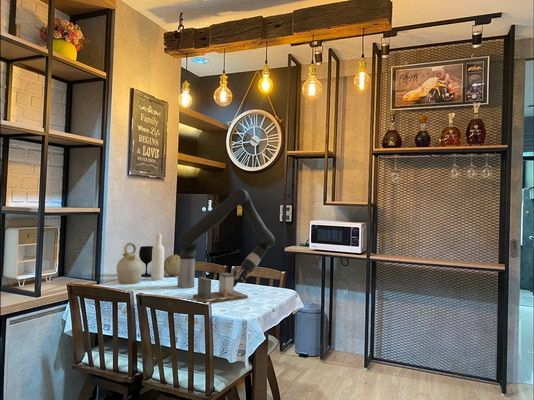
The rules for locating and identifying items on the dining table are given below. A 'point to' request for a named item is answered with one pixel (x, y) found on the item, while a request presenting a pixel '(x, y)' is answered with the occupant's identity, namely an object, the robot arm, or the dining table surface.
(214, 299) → the base
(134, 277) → the jug
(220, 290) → the grey block
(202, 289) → the dark gray block
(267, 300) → the dining table surface
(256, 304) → the dining table surface
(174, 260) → the cantaloupe
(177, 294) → the dining table surface
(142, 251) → the wine glass
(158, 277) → the bottle
